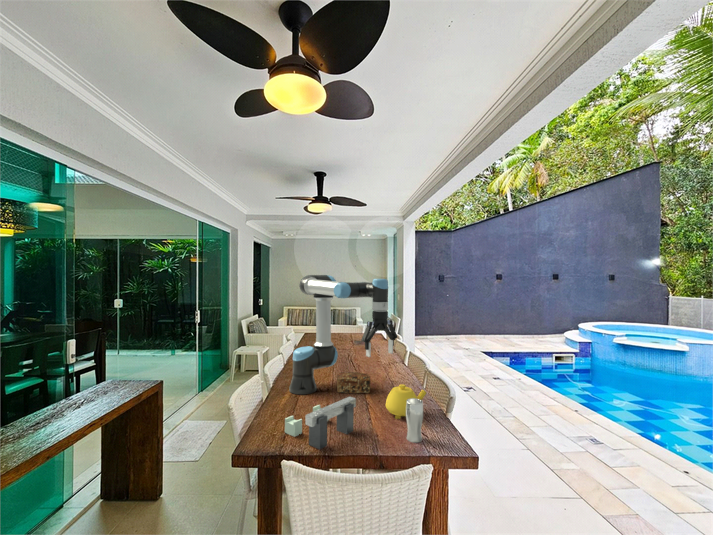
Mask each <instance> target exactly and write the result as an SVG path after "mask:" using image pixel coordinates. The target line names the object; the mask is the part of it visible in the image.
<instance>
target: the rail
mask: <svg viewBox="0 0 713 535" xmlns="http://www.w3.org/2000/svg"><path fill="white" fill-rule="evenodd" d="M350 404H354V408H356V407H357V398H355V397H353V396H347V397H345V398H342V399H340V400H338V401H336V402H333V403H330V404H329V405H325V406H324V407H320V408H321V409H319V410H316V411H314V412H313V411H311V412H310V413H307V414H305V417H304V419H305V422H304V423H305V425H306V426H308V427H309V426H310V427H313V426H316V425H318V422H319V418H321V417H324V416H327V420H328V419H329V420H330V419H332V418H334V417H337V415H339V414H341V413H343V412H345V411H346V406H348V405H350Z"/></svg>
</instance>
